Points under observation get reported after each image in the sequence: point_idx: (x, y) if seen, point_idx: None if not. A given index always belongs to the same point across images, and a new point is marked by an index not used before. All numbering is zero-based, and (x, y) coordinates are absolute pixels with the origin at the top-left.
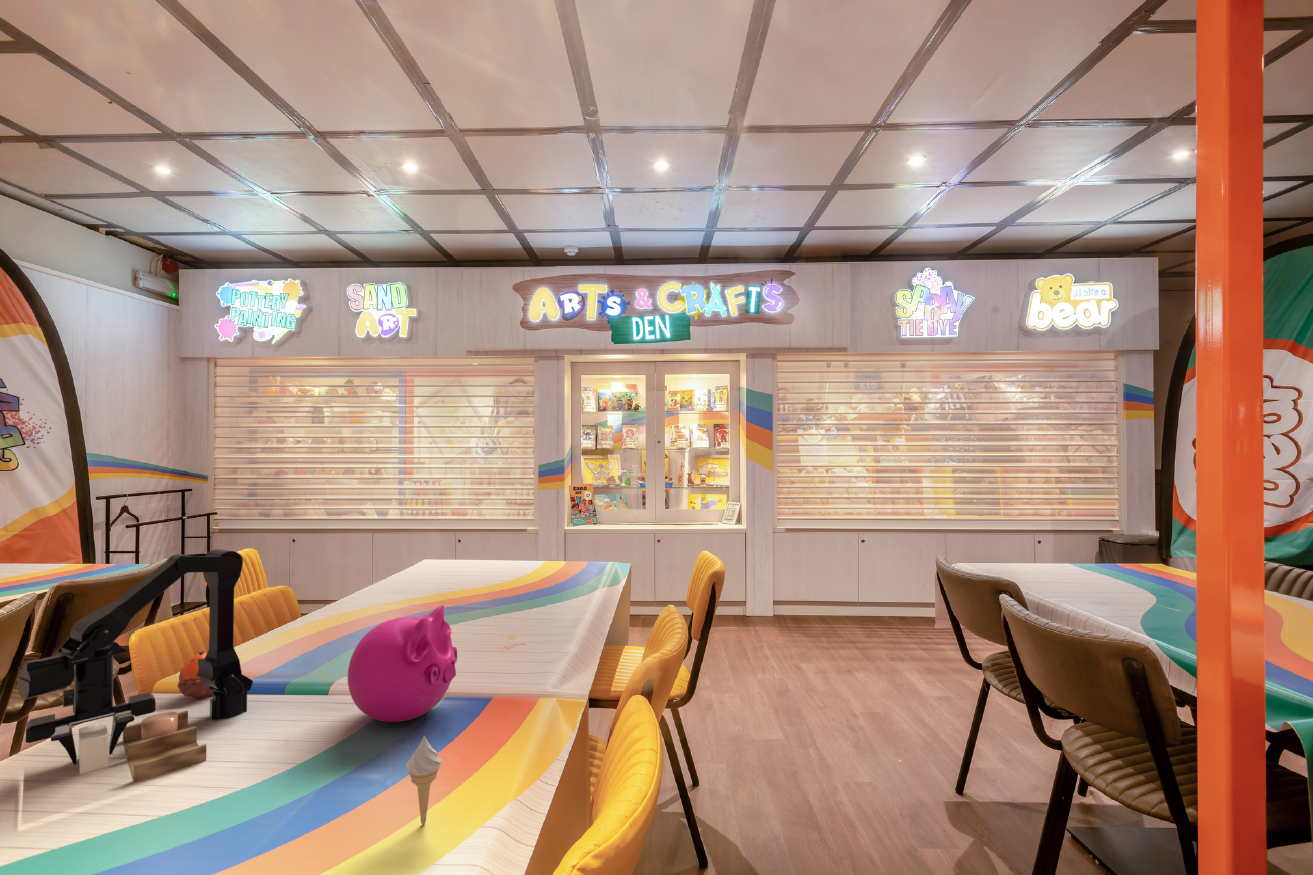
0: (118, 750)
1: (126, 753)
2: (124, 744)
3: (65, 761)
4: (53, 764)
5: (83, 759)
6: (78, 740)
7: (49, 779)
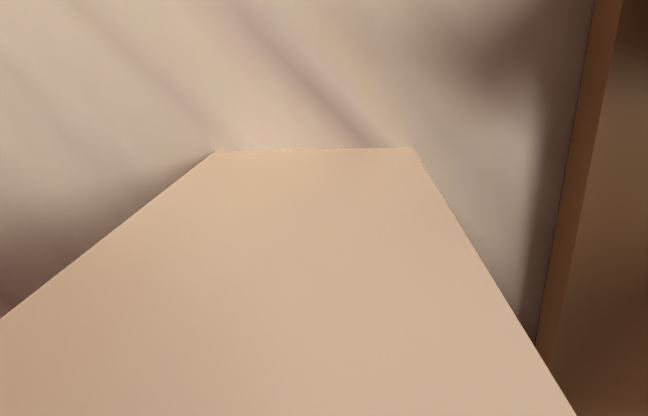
0: (529, 100)
1: (555, 349)
2: (611, 84)
3: (100, 9)
4: (9, 6)
5: None
6: (82, 261)
7: None
